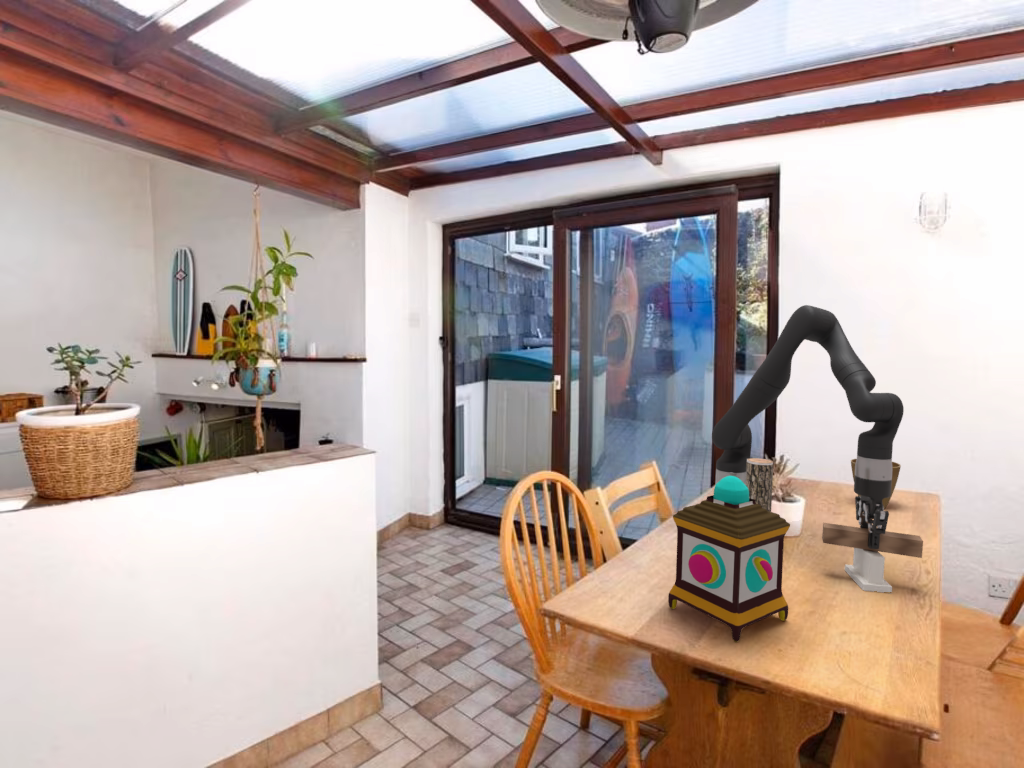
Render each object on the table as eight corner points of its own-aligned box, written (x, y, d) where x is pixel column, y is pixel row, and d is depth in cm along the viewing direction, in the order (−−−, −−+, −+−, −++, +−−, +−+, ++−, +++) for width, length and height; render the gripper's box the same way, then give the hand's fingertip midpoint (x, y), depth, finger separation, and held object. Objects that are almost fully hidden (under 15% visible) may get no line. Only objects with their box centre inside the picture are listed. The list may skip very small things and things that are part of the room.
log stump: (769, 545, 158) (773, 459, 156) (769, 554, 152) (773, 464, 150) (743, 542, 161) (747, 457, 159) (742, 549, 155) (746, 461, 153)
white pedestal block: (862, 590, 130) (864, 557, 129) (844, 570, 142) (846, 539, 141) (891, 593, 129) (893, 559, 128) (870, 572, 140) (872, 541, 140)
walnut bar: (823, 543, 137) (824, 527, 137) (822, 537, 141) (823, 522, 140) (921, 558, 128) (923, 541, 128) (918, 552, 132) (919, 535, 131)
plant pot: (850, 498, 208) (852, 456, 207) (898, 505, 200) (901, 461, 198) (846, 507, 196) (848, 463, 195) (897, 515, 188) (900, 468, 186)
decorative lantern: (717, 586, 132) (721, 461, 129) (798, 622, 115) (805, 479, 113) (658, 607, 121) (662, 471, 119) (738, 649, 104) (744, 493, 102)
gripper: (904, 483, 125) (899, 557, 127) (878, 469, 139) (874, 536, 141) (867, 481, 127) (863, 554, 128) (845, 467, 141) (841, 533, 142)
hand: (868, 544), depth 134 cm, fingers closed on walnut bar, 4 cm apart
